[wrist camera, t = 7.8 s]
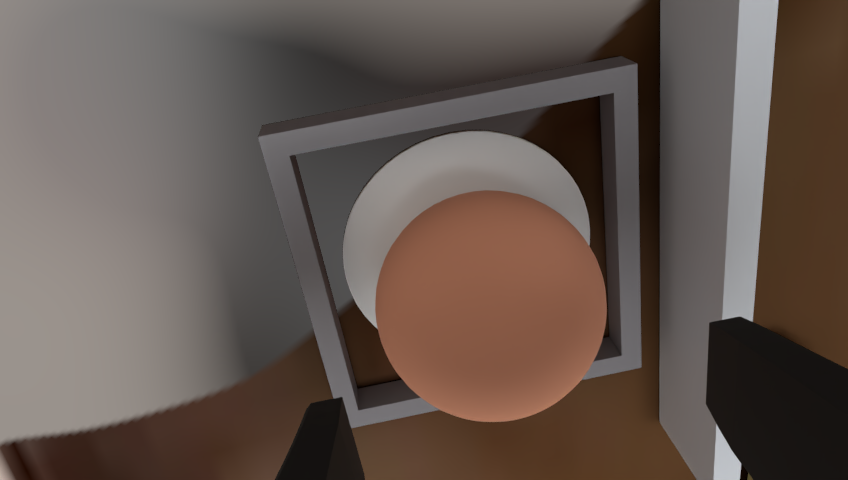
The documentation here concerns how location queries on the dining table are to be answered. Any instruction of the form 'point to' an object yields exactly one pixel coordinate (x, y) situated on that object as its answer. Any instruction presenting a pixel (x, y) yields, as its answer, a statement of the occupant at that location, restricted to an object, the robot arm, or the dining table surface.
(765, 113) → the acrylic wall
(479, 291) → the ball
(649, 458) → the dining table surface
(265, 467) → the dining table surface
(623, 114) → the grey square frame
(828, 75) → the dining table surface
